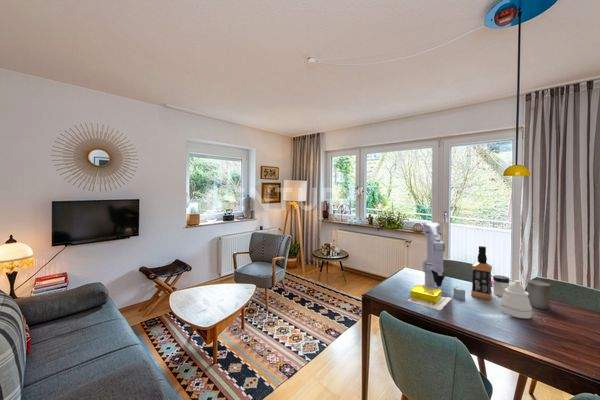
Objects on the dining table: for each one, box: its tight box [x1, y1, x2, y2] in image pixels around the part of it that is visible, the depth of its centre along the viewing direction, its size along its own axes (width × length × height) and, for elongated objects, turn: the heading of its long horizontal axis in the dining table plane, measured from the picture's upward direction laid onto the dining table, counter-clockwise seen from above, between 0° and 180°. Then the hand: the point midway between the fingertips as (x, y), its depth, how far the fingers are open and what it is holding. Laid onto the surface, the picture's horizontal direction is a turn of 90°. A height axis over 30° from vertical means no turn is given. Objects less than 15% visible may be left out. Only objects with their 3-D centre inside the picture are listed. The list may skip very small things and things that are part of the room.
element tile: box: [410, 284, 443, 303], centre depth 153 cm, size 15×15×5 cm
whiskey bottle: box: [470, 245, 493, 302], centre depth 155 cm, size 10×10×32 cm
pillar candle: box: [526, 279, 551, 310], centre depth 142 cm, size 10×10×15 cm
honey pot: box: [499, 279, 533, 319], centre depth 133 cm, size 13×13×18 cm
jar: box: [492, 274, 511, 298], centre depth 157 cm, size 9×8×12 cm
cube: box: [452, 286, 466, 301], centre depth 152 cm, size 4×4×6 cm
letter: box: [406, 296, 453, 311], centre depth 150 cm, size 24×18×1 cm
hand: (437, 284), depth 147 cm, fingers open, 7 cm apart
